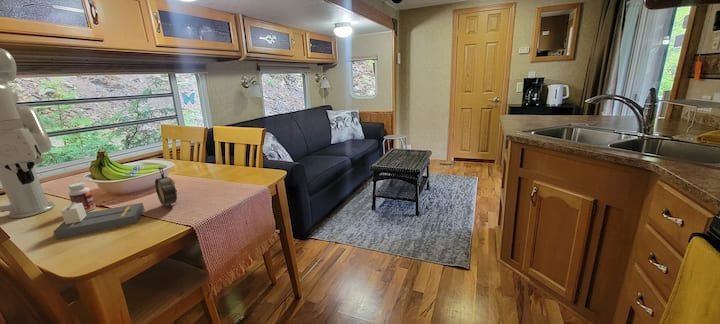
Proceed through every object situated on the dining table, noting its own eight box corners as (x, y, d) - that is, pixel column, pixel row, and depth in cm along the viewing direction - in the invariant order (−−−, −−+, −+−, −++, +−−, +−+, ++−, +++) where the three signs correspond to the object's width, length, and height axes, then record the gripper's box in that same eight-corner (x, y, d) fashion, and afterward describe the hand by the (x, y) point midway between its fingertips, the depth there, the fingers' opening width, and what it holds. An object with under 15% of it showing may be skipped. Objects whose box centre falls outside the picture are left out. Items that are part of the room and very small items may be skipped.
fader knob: (65, 224, 99) (59, 209, 98) (72, 218, 104) (66, 203, 102) (80, 221, 101) (75, 206, 99) (86, 215, 105) (81, 201, 103)
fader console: (56, 239, 96) (53, 231, 96) (72, 223, 107) (69, 215, 106) (136, 223, 105) (134, 215, 104) (144, 209, 115) (142, 202, 114)
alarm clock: (159, 204, 120) (148, 166, 115) (173, 199, 123) (164, 162, 118) (167, 212, 112) (156, 172, 107) (182, 206, 116) (172, 168, 111)
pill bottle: (94, 210, 117) (85, 184, 113) (74, 215, 113) (63, 188, 110) (97, 205, 122) (88, 180, 118) (77, 209, 118) (67, 184, 115)
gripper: (-41, 131, 83) (-13, 191, 88) (30, 125, 88) (53, 182, 94) (-22, 127, 89) (4, 183, 95) (43, 121, 95) (64, 175, 100)
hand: (28, 182), depth 94 cm, fingers closed
